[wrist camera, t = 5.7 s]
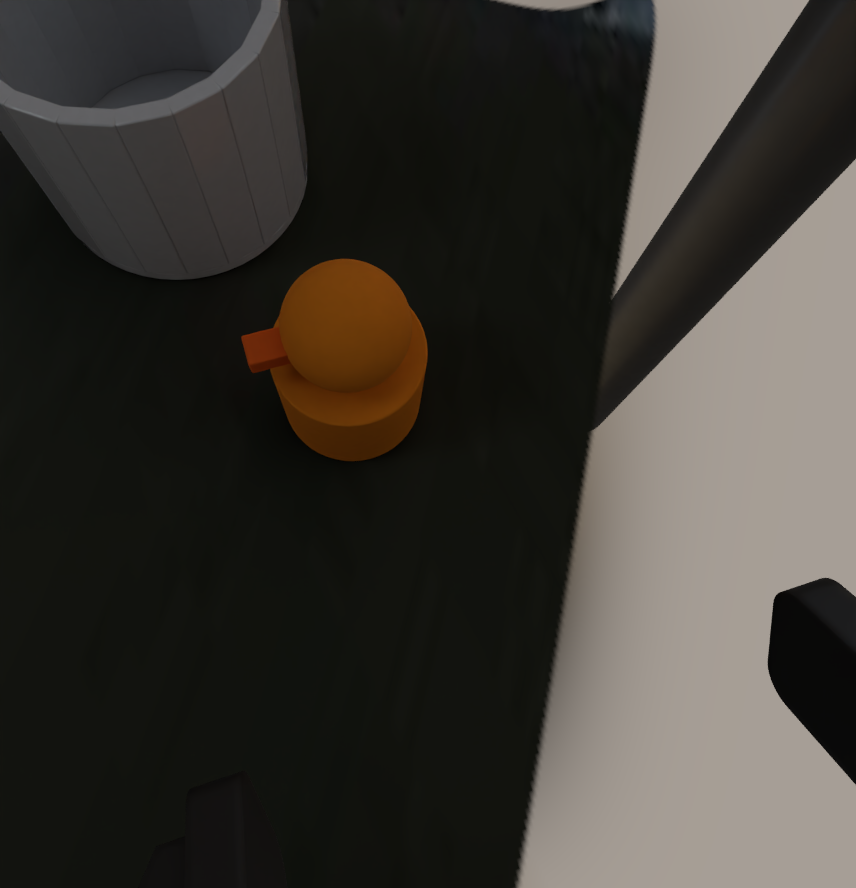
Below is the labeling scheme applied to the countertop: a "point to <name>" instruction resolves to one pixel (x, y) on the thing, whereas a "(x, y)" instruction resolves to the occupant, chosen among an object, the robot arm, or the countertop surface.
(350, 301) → the duck
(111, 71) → the pot
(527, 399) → the countertop surface
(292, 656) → the countertop surface
